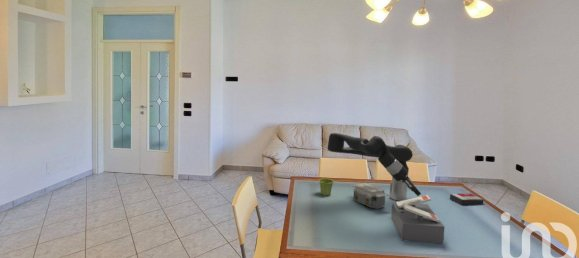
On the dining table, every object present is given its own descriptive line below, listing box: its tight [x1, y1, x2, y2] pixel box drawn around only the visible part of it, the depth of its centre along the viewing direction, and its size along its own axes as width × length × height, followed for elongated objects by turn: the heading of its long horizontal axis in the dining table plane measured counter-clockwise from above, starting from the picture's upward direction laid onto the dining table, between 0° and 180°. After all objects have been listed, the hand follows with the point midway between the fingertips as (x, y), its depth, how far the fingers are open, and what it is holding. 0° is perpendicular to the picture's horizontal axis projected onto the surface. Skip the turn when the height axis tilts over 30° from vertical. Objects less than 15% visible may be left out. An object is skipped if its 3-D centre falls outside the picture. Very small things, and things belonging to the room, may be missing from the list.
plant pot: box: [318, 178, 334, 196], centre depth 216 cm, size 9×9×9 cm
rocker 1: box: [395, 194, 432, 208], centre depth 174 cm, size 6×16×1 cm, turn 83°
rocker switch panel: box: [390, 201, 446, 244], centre depth 167 cm, size 28×18×10 cm, turn 173°
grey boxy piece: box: [349, 183, 390, 209], centre depth 201 cm, size 12×28×10 cm, turn 23°
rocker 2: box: [403, 203, 441, 222], centre depth 159 cm, size 6×16×1 cm, turn 83°
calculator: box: [449, 193, 484, 206], centre depth 209 cm, size 11×4×15 cm
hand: (419, 194), depth 173 cm, fingers closed
